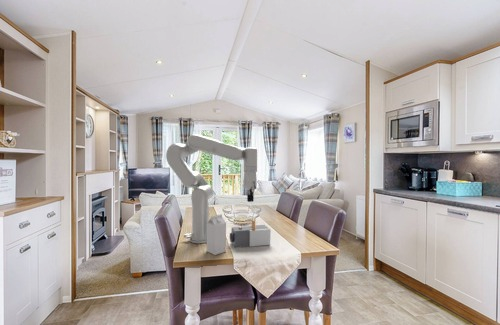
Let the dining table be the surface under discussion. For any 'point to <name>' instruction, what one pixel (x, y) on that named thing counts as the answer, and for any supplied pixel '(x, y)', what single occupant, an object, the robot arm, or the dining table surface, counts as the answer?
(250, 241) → the side door
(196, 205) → the robot arm
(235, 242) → the box
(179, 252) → the dining table surface
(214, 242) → the milk carton
